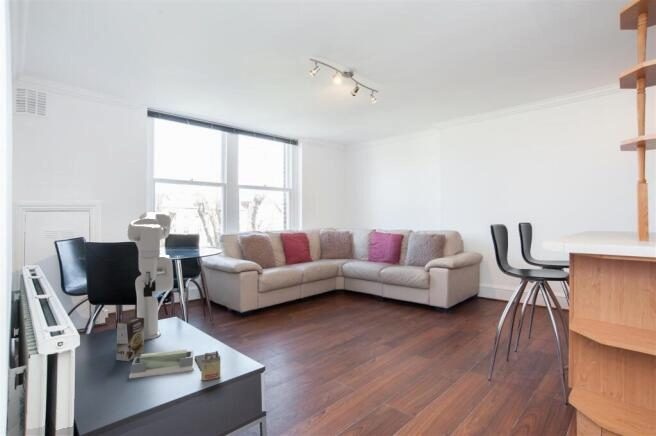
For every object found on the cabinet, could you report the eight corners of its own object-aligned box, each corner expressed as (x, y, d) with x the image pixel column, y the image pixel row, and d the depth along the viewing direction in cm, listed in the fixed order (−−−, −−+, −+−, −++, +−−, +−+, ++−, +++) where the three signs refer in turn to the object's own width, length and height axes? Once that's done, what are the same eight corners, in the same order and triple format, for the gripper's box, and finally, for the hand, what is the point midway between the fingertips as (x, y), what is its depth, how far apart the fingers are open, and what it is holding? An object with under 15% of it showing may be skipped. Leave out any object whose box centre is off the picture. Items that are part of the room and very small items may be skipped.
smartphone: (200, 370, 137) (193, 356, 150) (200, 372, 137) (193, 358, 150) (218, 366, 140) (210, 353, 153) (218, 368, 141) (210, 355, 153)
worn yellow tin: (201, 382, 128) (202, 356, 128) (200, 377, 132) (200, 352, 131) (221, 378, 132) (221, 352, 132) (219, 374, 135) (219, 349, 135)
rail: (141, 366, 138) (141, 354, 138) (186, 361, 144) (186, 349, 144) (139, 370, 135) (139, 357, 135) (185, 364, 140) (186, 352, 140)
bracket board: (134, 366, 141) (134, 355, 140) (194, 358, 148) (194, 348, 148) (129, 378, 130) (129, 366, 130) (193, 370, 138) (193, 359, 138)
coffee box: (128, 361, 145) (129, 323, 144) (116, 360, 146) (116, 322, 146) (144, 353, 154) (144, 317, 153) (132, 351, 155) (132, 316, 155)
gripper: (143, 252, 154) (143, 290, 154) (136, 257, 138) (136, 299, 138) (162, 251, 156) (161, 289, 157) (157, 256, 140) (156, 298, 140)
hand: (149, 293), depth 147 cm, fingers open, 9 cm apart
